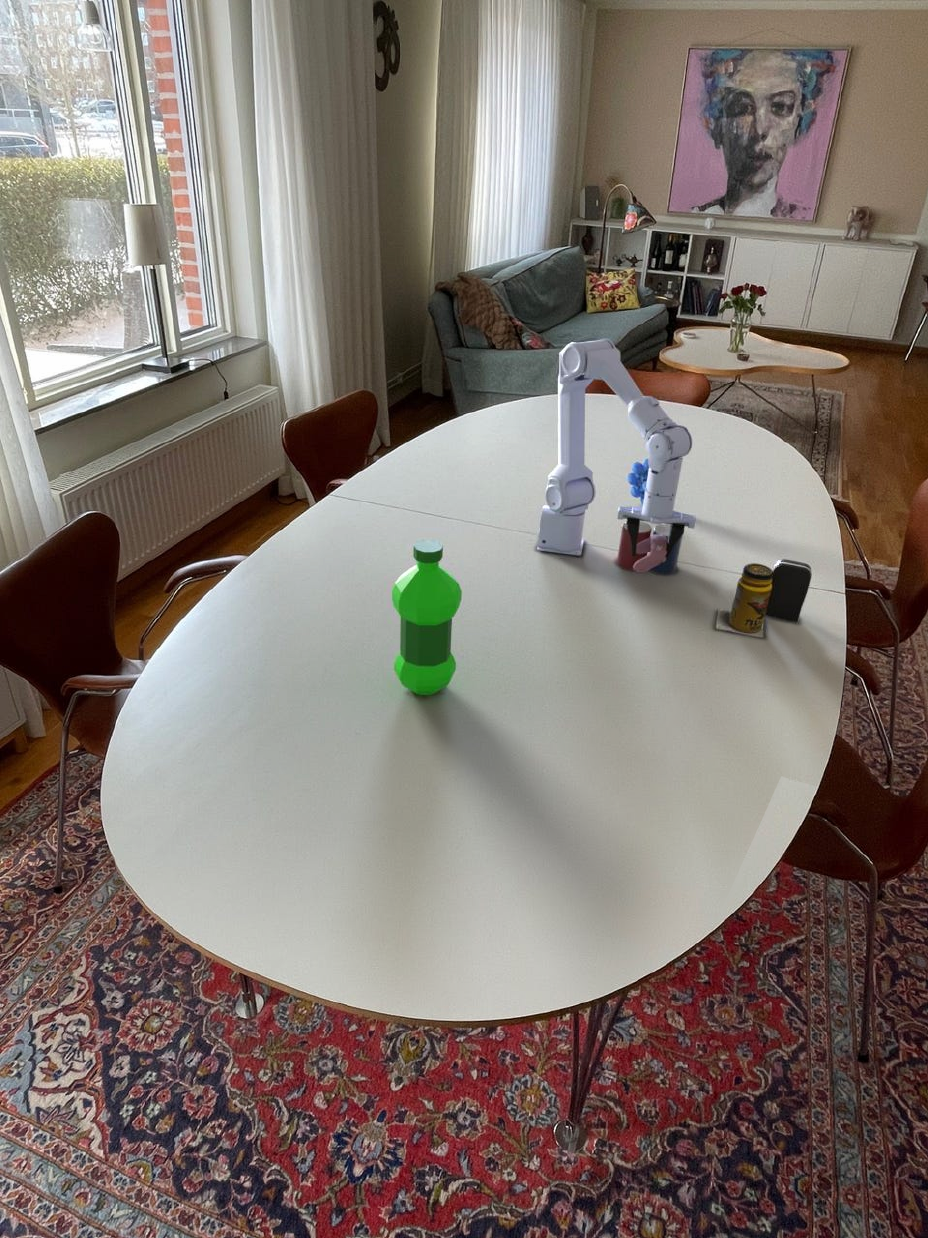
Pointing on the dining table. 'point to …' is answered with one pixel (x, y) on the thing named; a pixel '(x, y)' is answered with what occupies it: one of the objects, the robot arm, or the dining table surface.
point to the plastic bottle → (426, 621)
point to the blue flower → (639, 479)
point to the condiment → (748, 602)
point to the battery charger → (788, 589)
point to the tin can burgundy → (625, 546)
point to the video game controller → (651, 552)
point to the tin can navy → (671, 564)
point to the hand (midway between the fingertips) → (649, 556)
